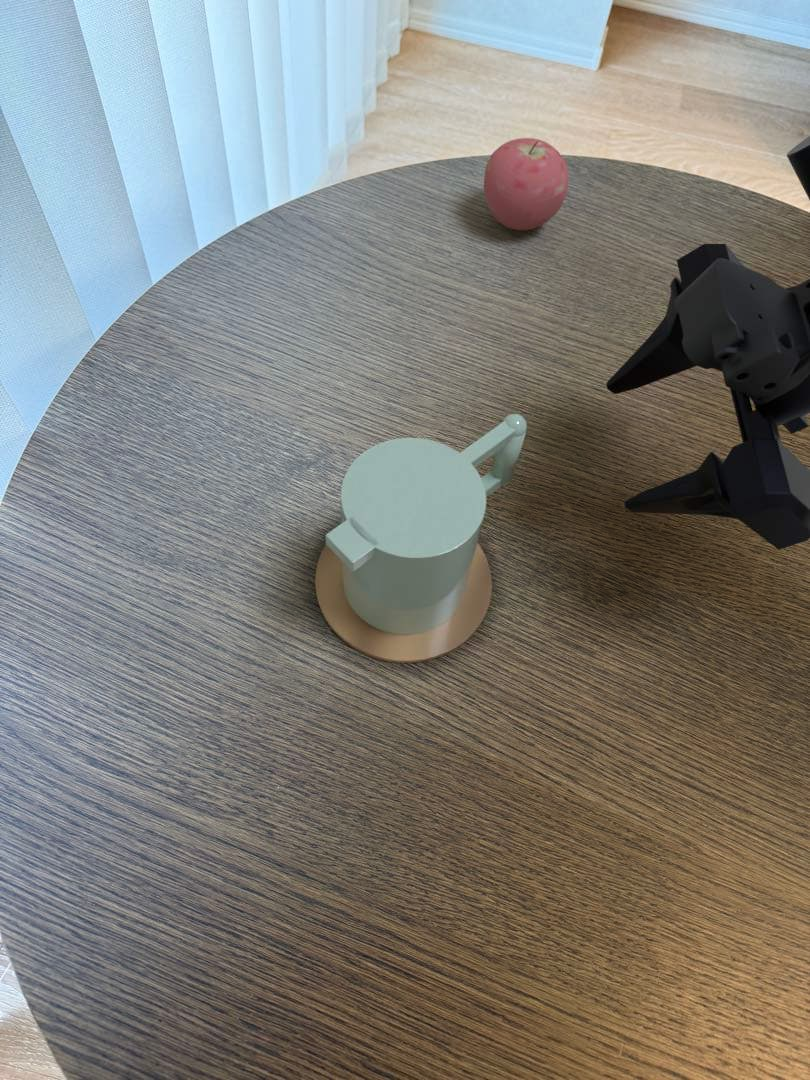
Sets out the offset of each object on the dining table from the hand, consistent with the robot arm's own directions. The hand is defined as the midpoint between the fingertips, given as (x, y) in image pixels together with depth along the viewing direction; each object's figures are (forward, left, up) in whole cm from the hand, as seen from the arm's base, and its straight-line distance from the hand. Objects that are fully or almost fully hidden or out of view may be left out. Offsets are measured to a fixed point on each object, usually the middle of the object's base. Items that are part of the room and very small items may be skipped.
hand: (618, 446), depth 53 cm
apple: (+13, -30, -8) cm, 34 cm away
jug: (+10, +8, -7) cm, 15 cm away
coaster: (+11, +10, -8) cm, 17 cm away
